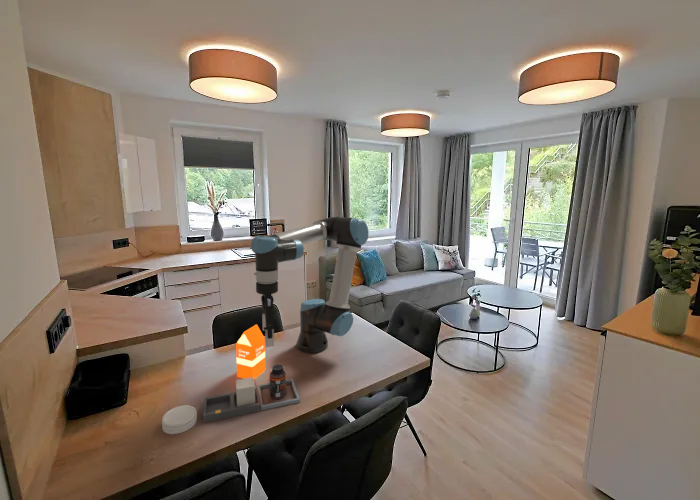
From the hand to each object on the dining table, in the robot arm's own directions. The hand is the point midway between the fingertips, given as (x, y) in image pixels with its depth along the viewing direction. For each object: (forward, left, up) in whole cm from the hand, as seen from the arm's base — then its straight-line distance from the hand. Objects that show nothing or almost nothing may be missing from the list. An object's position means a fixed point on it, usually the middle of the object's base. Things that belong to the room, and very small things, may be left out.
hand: (267, 337), depth 118 cm
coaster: (+29, +7, -23) cm, 37 cm away
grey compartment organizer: (+13, +4, -22) cm, 26 cm away
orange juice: (+5, -16, -22) cm, 28 cm away
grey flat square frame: (-3, +2, -22) cm, 23 cm away
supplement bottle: (-3, +2, -22) cm, 23 cm away
